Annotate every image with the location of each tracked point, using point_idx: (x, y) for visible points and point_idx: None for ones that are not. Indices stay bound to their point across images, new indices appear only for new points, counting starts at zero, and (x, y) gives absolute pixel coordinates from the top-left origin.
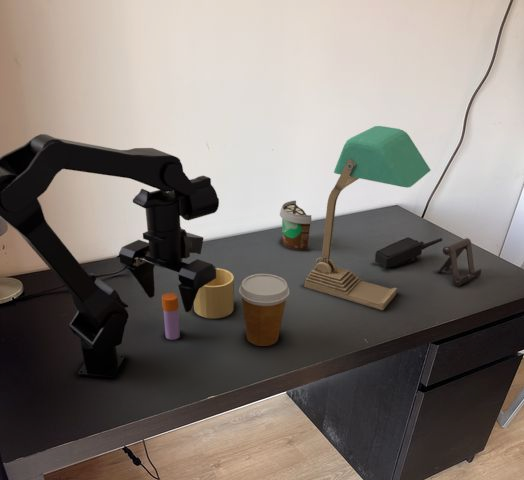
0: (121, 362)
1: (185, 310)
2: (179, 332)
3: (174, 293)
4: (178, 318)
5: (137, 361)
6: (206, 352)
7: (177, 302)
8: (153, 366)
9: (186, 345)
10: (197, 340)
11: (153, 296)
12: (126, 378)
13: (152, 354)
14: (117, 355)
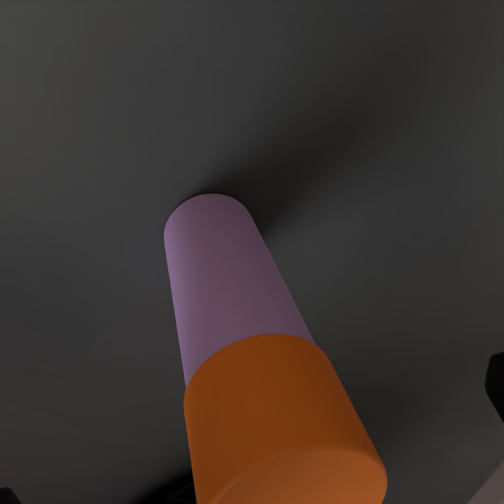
0: None
1: (498, 410)
2: (252, 221)
3: (291, 458)
4: (284, 285)
5: None
6: (468, 191)
7: (355, 412)
8: None
9: (340, 230)
10: (359, 152)
11: (13, 492)
12: None
13: None
14: (179, 495)
